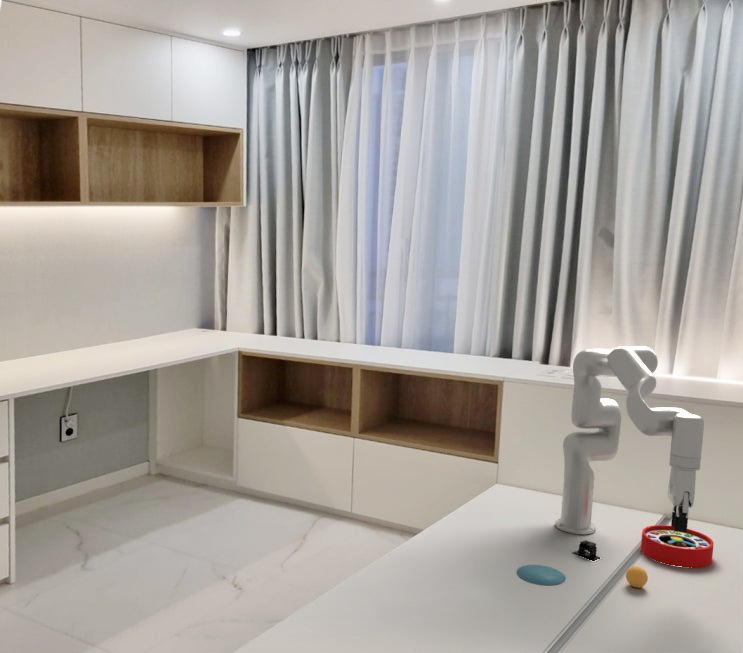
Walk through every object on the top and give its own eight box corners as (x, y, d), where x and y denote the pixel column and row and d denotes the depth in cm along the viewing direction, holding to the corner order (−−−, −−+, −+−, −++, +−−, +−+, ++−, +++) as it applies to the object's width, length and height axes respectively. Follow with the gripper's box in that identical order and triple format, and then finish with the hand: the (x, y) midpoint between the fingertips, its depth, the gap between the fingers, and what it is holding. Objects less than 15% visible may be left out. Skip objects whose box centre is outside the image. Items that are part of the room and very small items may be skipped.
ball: (623, 581, 213) (625, 561, 213) (645, 583, 212) (646, 564, 212) (626, 589, 208) (628, 569, 207) (648, 592, 207) (650, 572, 206)
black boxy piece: (562, 553, 233) (563, 538, 232) (577, 548, 238) (578, 533, 237) (597, 567, 223) (599, 552, 223) (612, 562, 228) (613, 547, 228)
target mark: (516, 563, 222) (517, 562, 222) (563, 568, 220) (564, 568, 220) (516, 581, 209) (516, 581, 209) (566, 588, 207) (566, 587, 207)
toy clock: (662, 520, 248) (725, 540, 233) (661, 538, 249) (723, 559, 234) (629, 533, 235) (693, 555, 220) (627, 552, 235) (691, 575, 221)
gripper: (664, 452, 213) (658, 517, 215) (675, 468, 198) (669, 538, 199) (693, 455, 212) (687, 520, 214) (707, 471, 196) (700, 542, 198)
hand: (678, 528), depth 207 cm, fingers open, 2 cm apart
